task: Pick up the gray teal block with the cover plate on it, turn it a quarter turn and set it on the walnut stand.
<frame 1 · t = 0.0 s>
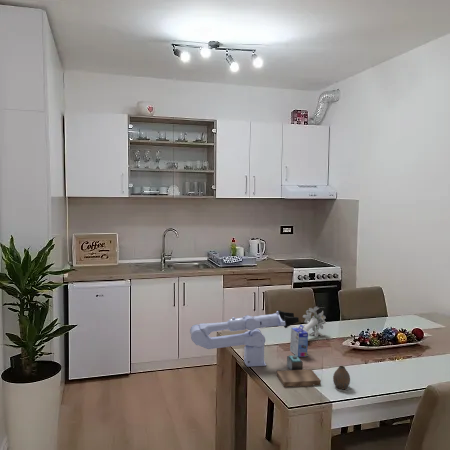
hand: (296, 317, 213), 22 cm above the table, tool horizontal, fingers open, 7 cm apart
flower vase: (308, 338, 250), on the table
walnut stand: (298, 380, 194), on the table
gray teal block: (294, 369, 206), on the table, touching cover plate
ink cartridge box: (298, 354, 226), on the table
cover plate: (294, 361, 205), point 4 cm above the table, touching gray teal block
vase: (341, 387, 187), on the table
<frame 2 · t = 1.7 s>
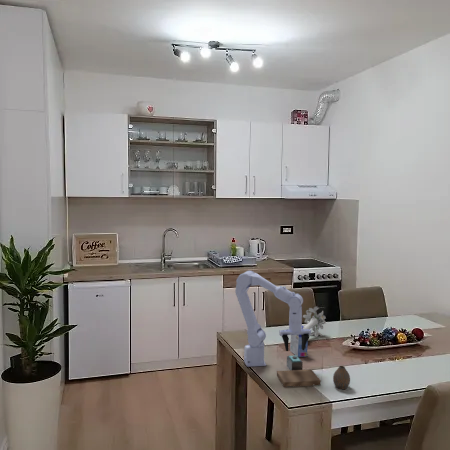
hand: (294, 350, 205), 9 cm above the table, tool pointing down, fingers open, 7 cm apart
nothing on the table moved.
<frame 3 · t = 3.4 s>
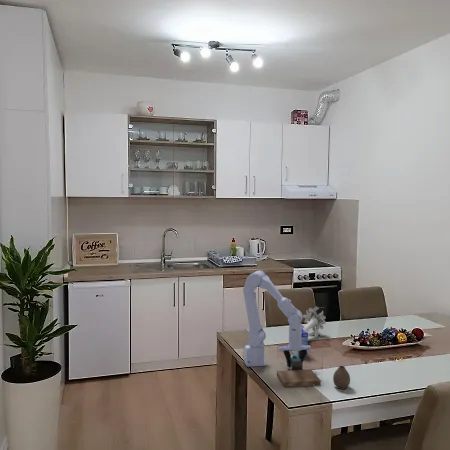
hand: (294, 366, 206), 1 cm above the table, tool pointing down, fingers closed on gray teal block, 5 cm apart
gray teal block: (294, 369, 206), on the table, touching cover plate, gripper
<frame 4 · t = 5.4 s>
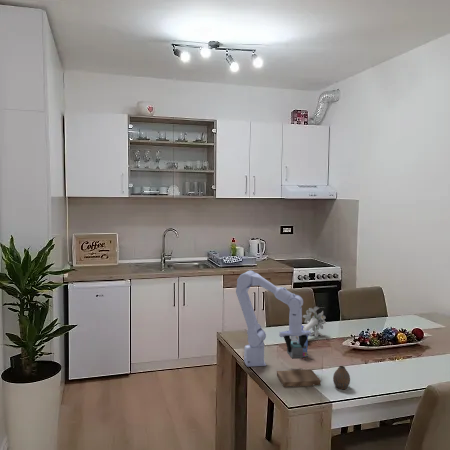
hand: (294, 351, 205), 8 cm above the table, tool pointing down, fingers closed on gray teal block, 5 cm apart
gray teal block: (294, 355, 205), point 7 cm above the table, touching cover plate, gripper
cover plate: (294, 346, 205), point 11 cm above the table, touching gray teal block
everything else where it was.
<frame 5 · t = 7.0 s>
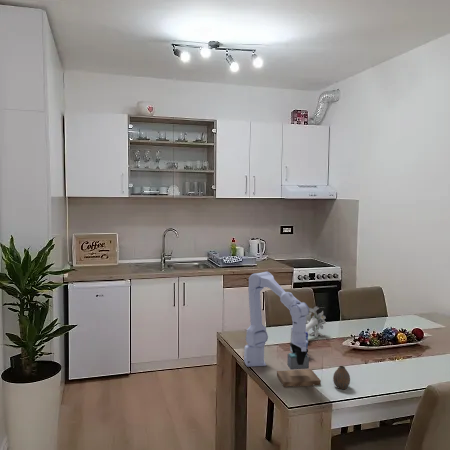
hand: (298, 362, 193), 8 cm above the table, tool pointing down, fingers closed on gray teal block, 5 cm apart
gray teal block: (298, 366, 193), point 6 cm above the table, touching cover plate, gripper
cover plate: (297, 357, 193), point 10 cm above the table, touching gray teal block
everything else where it was.
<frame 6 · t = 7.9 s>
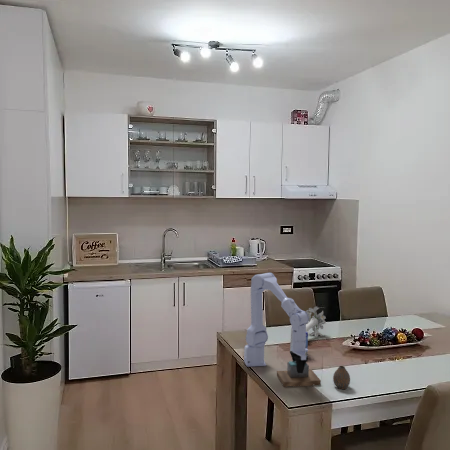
hand: (298, 370, 193), 4 cm above the table, tool pointing down, fingers closed on gray teal block, 5 cm apart
gray teal block: (297, 375, 193), point 2 cm above the table, touching cover plate, gripper
cover plate: (297, 366, 193), point 6 cm above the table, touching gray teal block
everything else where it was.
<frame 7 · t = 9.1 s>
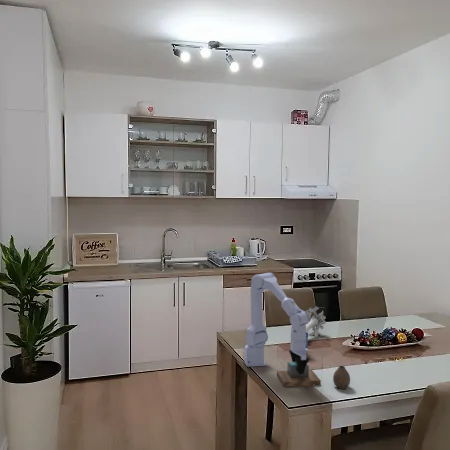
hand: (298, 370, 193), 4 cm above the table, tool pointing down, fingers open, 7 cm apart
gray teal block: (297, 375, 193), point 2 cm above the table, touching cover plate, walnut stand
everything else where it was.
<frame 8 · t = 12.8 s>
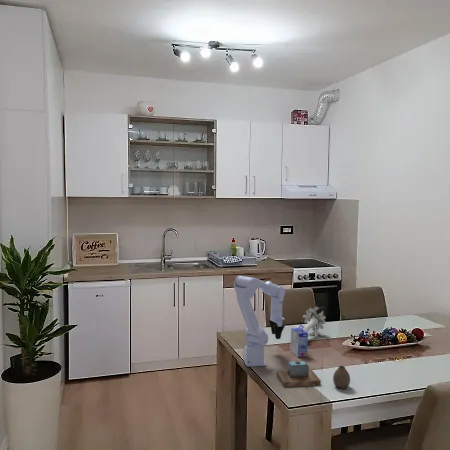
hand: (276, 336, 223), 9 cm above the table, tool pointing down, fingers open, 7 cm apart
nothing on the table moved.
at the end: gray teal block inside the target area on the walnut stand (0.2 cm from its centre), point 2.0 cm above the walnut stand's base; cover plate 0.1 cm off-centre on the gray teal block, point 4.0 cm above the gray teal block's base; the gripper is holding nothing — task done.
